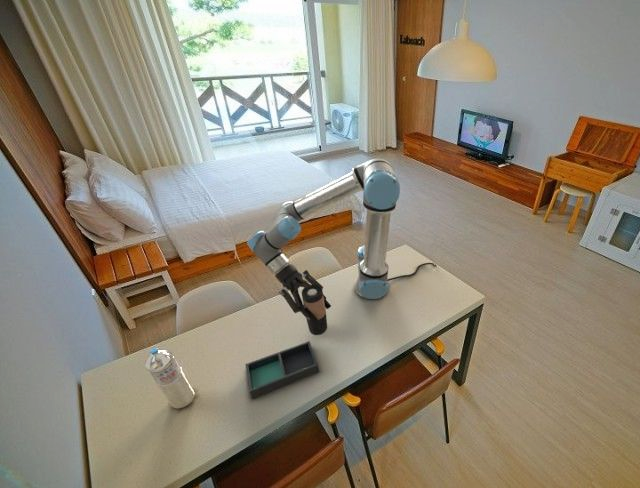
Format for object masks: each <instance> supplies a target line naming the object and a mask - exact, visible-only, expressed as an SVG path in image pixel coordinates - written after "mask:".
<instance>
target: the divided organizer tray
mask: <svg viewBox="0 0 640 488" xmlns="http://www.w3.org/2000/svg"><path fill="white" fill-rule="evenodd" d="M245 371H246V375H247V376H246V377H247V385H248V391H249V395H250V397H251V400H253V399H256V398H258V397H261V396H263V395H266V394H268V393H271V392H273V391H275V390H278V389H280V388H283V387H285V386H288V385H291V384H293V383H295V382H298V381H300V380H303V379H306V378H308V377H310V376H313V375H315V374H317V373H320V369H319V364H318V361H317V359H316V356H315V352H314V350H313V347H312V345H311V342H310V340H307V341H306V342H303V343H300V344H298V345H295V346H291V347H289V348H286V349H283V350H280V351H278V352H275V353H273V354H270V355H266V356H264V357H261V358H259V359H256V360H252V361H251V362H247V363H245Z"/></svg>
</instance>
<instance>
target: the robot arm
mask: <svg viewBox="0 0 640 488" xmlns="http://www.w3.org/2000/svg"><path fill="white" fill-rule="evenodd" d="M360 192H363V196H362V197H363V198H362V206H363V208H365V210H366V219H365V238H364V245H363V246H360V247H359V248H358V249H357V253H356V257H357V272H358V273H357V274H358V275H357V279H356V282H355V284H354V285H355V286H354V287H355V292H356V294H357V295H358V296H359V297H360V298H363V299H366V300H378V299H380V298H382V297H384V296H386V295H387V293H388V292H389V283H388V282H390V281H393V280H397V279H400V278H409V277H413V276H414V275H416V274H417V272H418V270H419V268H422V267H423V266H427V265H428V266H429V265H431V266H434V267H436V266H437V264H435V263H433V262H424V263H421V264H419V265H418V266H416V268H415V271H414V272H412V273H410V274H404V275H399V276H394V277H391V278H388V275H389V268H390V267H389V264H388V262H387V250H388V241H389V233H390V224H391V213H392V212H393V211H394V210H396V208H397V202H398V200H399V198H400V196H401V195H400V193H401V186H400V181H399V179H398V178H397V175H396V172H395V169H394V167H393V165H392V164H391V163H390V162H389V161H387V160H386V159H383V158H373V159H369V160H368V161H365V162H363V163H361V164H359V165H357V166H356V167H354V168H352V170H351V172H350V173H348V174H346V175H344V176H342V177H340V178H338V179H336V180H334V181H332V182H330V183H329V184H326V185H325V186H323V187H320V188H319V189H317V190H315V191H313V192H311V193H309V194H307V195H305V196H303V197H301V198H300V199H297V200H295V201H286V202H284V203H283V204H282V205H281V207H280V208H279V210H278V214H277V216H276V219H275V222H274V224H273V227H271V228H270V229H269V230H268V231H267V232H266V231H264V230H260V231H258V232H256V233H255V234H254V235H253V236H251V237H250V238H248V239H247V242H246V243H247V244H246V245H247V246H248V247H249V249H250V250H251V251H252V253H253V254H254V255H255V256H256V257H257V258H258V259H259V260H260V261H261V263H262V264H264V266H265V267H266V268H267V270H269V271H270V273H272V275H274V277H275V278H276V280H277V281H278V282H279V283H280V284H282V286H283V287H282V289H281V290H280V291H278V293H279V295H280V296H282V297H283V299H284V300H285V302H286V303H287V304H288V306H289V307H290V309H291V310H292V312H293V313H294V314H298V313H301V314H302V315H303V316H304V317H305V319H306V318H307V317H308V318H309V319H310V320H311V321H312V322H313V323H315V322H317V321H318V319H317V318H316V317H315V316H314V315H313V314H312V312H311V311H310V310H309V309H308V308H307V307H306V308H304V304H303V299H302V297H301V295H300V293H299V289H300V288H303V289H304V288H305V287H309V286H311V285H319V286H320V287H321V288H322V290H324V286H323V285H322V284H321V283H320V282H318V281H317V279H316V278H314V277H313V276H312V275H311V274H310V273H309V271H308V270H307V269H304V271H302V272H299V271H298V269H297V268H296V266H295V265H294V264H293V263H292V262H290V259H289V258H288V257H287V256H286V255H285V254H284V253H283V252H282V250H281V249H283V248H284V247H285V246H286V245H288V243H289V242H292V240H294V239H295V238H296V237H297V236H298V235H300V233H301V232H302V227H301V224H300V223H299V222H301V221H304V220H305V219H307V218H309V217H311V216H313V215H315V214H317V213H319V212H320V211H323V210H325V209H327V208H329V207H331V206H333V205H336V204H337V203H339V202H341V201H343V200H345V199H347V198H349V197H351V196H354V195H356V194H358V193H360ZM434 264H435V265H434ZM303 278H304V279H303ZM288 290H289V291H288ZM289 292H290V293H289ZM323 297H324V303H325V309H326V310H328V309H330V308H331V307H332V305H331V303H330V302H329V301H328V300H327V296H326V295H325V294H324V293H323Z"/></svg>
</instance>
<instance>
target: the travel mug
mask: <svg viewBox="0 0 640 488" xmlns="http://www.w3.org/2000/svg"><path fill="white" fill-rule="evenodd" d="M323 294H324V292H323V289H322V288H321V287H320V286H319V285H312V284H311V286H309V287H305V288H304V287H303V289H302V290H301V300H302V303H303V305H304V308H306V307H307V308H308V309H309V310H310V311H311V312H312V314H313V315H314V316H315V317H316V318H317V319H318V321H317V322H315V323H313V322H312V321H311V320H310V319H309V318H308V317H307V318H306V317H305V319H306V323H307V327H308V330H309V333H310V334H312V335H313V336H320V335H323V334H324V333H325V332H327V329H328V319H327V311H326V310H327V309H326V308H325V303H324V297H323Z"/></svg>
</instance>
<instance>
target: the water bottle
mask: <svg viewBox="0 0 640 488" xmlns="http://www.w3.org/2000/svg"><path fill="white" fill-rule="evenodd" d="M144 366H145V369H146V371H147V372H149V374H150V376H151V377H152V378H153V380H154V382H155V384H156V386H157V387H158V388H159V390H160V391H161V393H162V394H163V396H164V397H165V399H166V400H167V402H168V404H169V405H170V406H171V407H172V408H174V409H177V410H180V409H184V408H186V407H187V406H189V405H190V404H191V403H192V402H193V401H194V399H195V397H196V396H195V395H196V394H195V390H194V388H193V386H192V384H191V383H190V381H189V379H188V378H187V376H186V374H185V373H184V370H183V368H182V367H181V366H180V365H179V363H178V361H177V359H176V358H175V354H174V353H173V351H171V350H169V349H158V348H157V347H152V348H151V349H150V350H149V355H148V356H147V358H146V360H145V363H144Z"/></svg>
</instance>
